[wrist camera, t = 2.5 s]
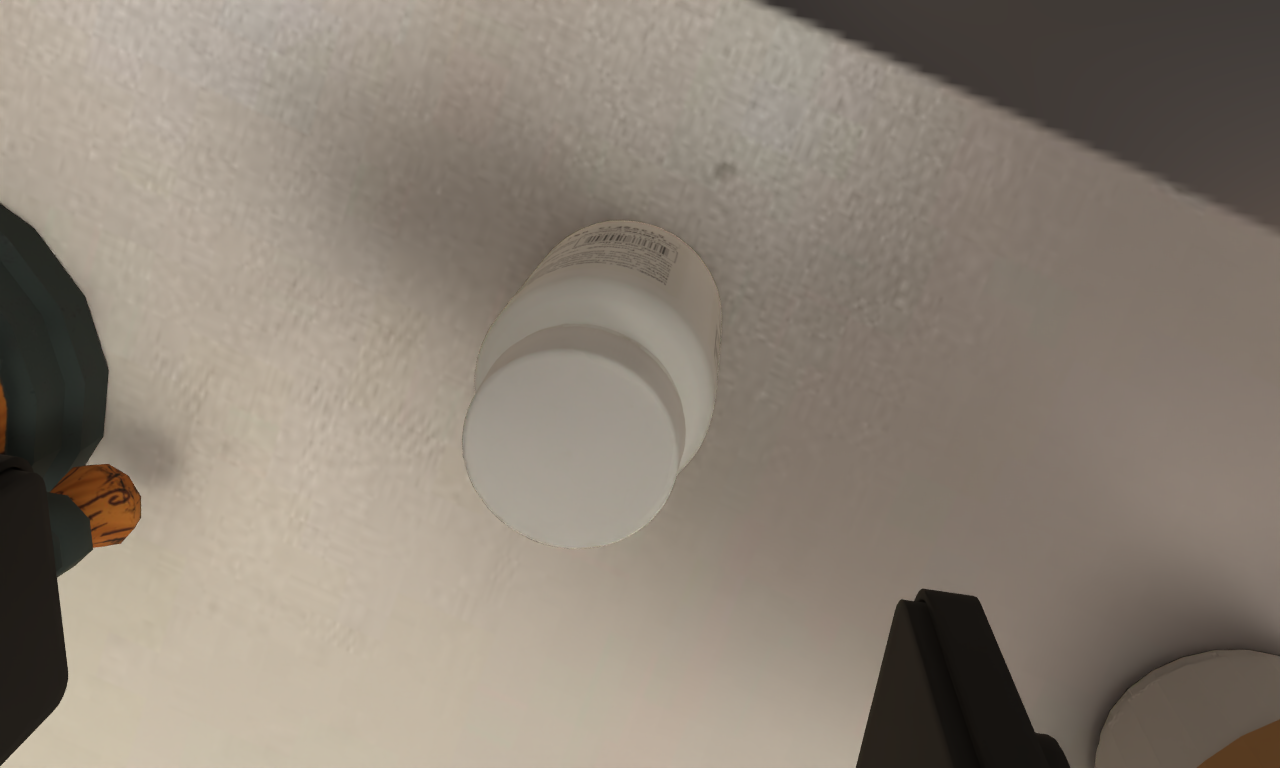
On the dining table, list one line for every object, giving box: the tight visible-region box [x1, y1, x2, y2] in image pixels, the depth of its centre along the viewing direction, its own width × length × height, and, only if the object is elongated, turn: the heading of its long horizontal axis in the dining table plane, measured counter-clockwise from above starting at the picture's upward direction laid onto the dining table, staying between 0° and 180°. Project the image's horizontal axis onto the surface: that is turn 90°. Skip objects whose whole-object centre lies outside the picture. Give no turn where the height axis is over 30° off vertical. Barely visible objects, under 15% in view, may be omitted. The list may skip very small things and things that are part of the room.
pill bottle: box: [462, 220, 722, 549], centre depth 19 cm, size 4×4×8 cm
